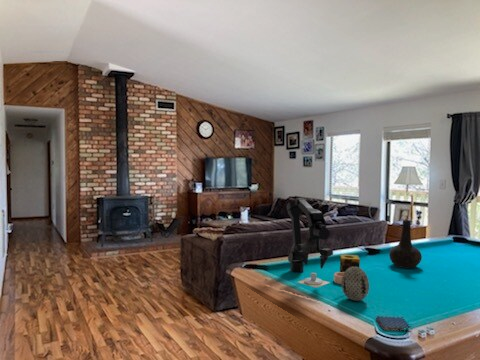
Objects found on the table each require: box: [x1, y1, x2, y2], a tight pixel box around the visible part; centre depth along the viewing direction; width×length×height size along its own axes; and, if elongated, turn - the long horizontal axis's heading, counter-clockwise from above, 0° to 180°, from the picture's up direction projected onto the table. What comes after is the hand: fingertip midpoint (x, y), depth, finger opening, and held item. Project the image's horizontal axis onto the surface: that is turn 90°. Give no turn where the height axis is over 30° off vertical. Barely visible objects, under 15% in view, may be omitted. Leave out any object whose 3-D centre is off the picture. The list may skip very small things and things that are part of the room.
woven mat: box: [375, 315, 412, 331], centre depth 142 cm, size 10×11×2 cm
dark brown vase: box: [389, 219, 423, 269], centre depth 227 cm, size 18×18×28 cm
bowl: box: [333, 271, 345, 285], centre depth 192 cm, size 9×9×4 cm
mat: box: [297, 276, 331, 289], centre depth 191 cm, size 12×12×1 cm
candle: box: [339, 254, 361, 272], centre depth 208 cm, size 10×10×10 cm
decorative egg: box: [341, 266, 370, 302], centre depth 168 cm, size 12×12×15 cm
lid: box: [303, 272, 324, 285], centre depth 190 cm, size 9×9×4 cm
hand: (313, 266), depth 190 cm, fingers open, 9 cm apart
